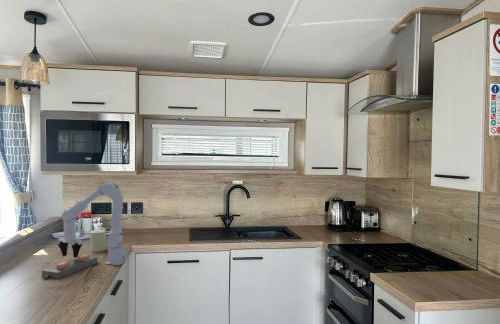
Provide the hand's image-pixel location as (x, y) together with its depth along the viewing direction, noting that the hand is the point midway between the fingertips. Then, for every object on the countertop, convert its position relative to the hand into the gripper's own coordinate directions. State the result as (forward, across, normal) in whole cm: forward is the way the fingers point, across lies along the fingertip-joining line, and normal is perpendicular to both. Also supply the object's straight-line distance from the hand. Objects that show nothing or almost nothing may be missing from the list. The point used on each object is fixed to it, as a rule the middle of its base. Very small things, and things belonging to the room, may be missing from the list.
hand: (70, 256), depth 187 cm
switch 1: (+1, +9, -13) cm, 16 cm away
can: (+4, -6, +28) cm, 29 cm away
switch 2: (+1, +9, 0) cm, 9 cm away
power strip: (+4, +7, -8) cm, 12 cm away
